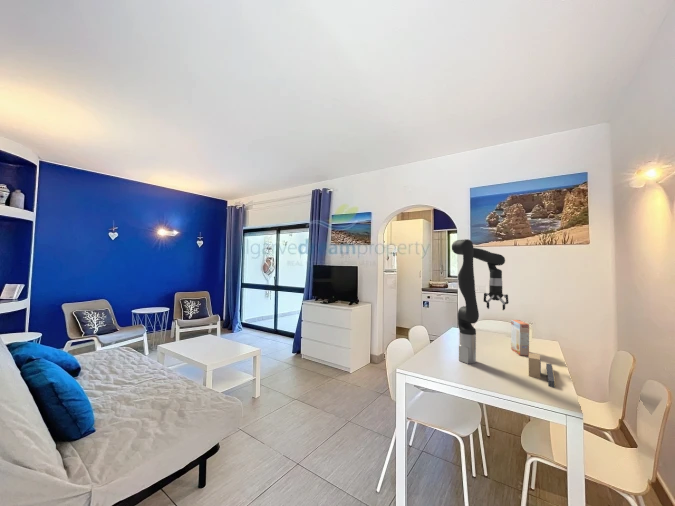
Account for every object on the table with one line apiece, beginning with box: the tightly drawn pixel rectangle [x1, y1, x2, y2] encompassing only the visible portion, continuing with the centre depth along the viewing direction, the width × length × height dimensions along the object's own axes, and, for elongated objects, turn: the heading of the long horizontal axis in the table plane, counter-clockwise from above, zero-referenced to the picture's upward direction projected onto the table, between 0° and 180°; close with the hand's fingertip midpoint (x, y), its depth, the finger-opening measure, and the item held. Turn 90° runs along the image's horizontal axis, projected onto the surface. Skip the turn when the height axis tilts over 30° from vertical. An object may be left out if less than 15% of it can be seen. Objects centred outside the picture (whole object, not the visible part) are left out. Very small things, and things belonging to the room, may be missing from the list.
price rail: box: [545, 363, 556, 388], centre depth 148 cm, size 28×3×3 cm, turn 145°
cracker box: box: [510, 319, 530, 357], centre depth 188 cm, size 14×6×21 cm, turn 168°
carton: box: [528, 352, 542, 379], centre depth 152 cm, size 10×5×10 cm, turn 145°
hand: (495, 309), depth 182 cm, fingers open, 8 cm apart
